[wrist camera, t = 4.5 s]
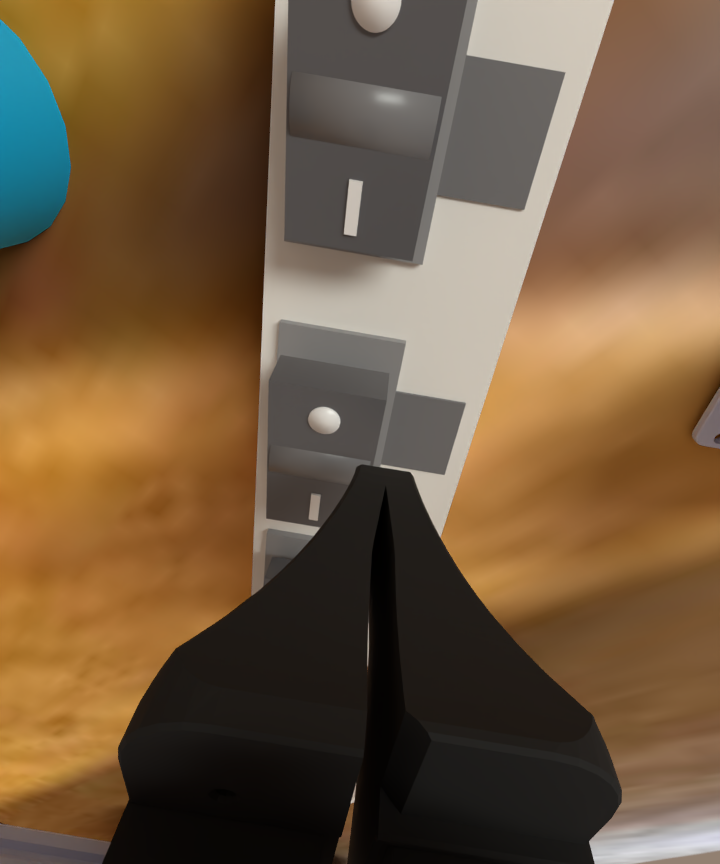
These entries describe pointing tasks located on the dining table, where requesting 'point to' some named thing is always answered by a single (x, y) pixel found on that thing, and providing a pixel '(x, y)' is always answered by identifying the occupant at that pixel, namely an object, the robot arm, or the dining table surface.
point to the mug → (28, 146)
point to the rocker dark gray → (319, 435)
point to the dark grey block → (365, 118)
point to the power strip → (432, 250)
